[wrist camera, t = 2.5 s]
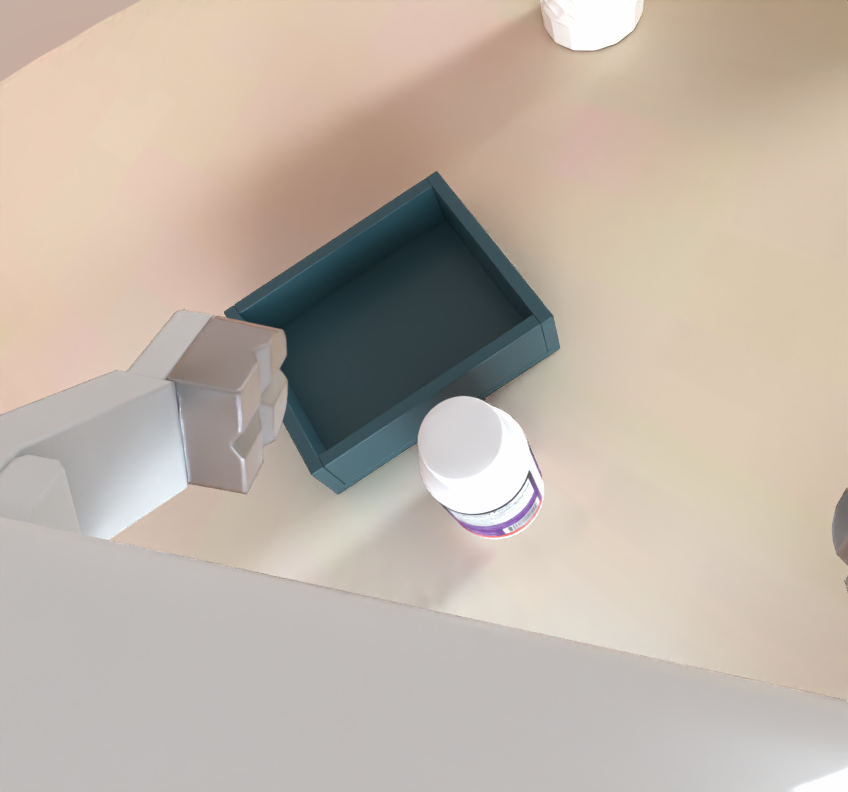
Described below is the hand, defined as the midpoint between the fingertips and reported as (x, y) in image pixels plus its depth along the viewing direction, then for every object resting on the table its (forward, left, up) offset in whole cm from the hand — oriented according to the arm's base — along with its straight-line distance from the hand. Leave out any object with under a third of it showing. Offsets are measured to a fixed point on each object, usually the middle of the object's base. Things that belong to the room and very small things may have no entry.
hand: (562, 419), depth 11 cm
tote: (+1, -21, -32) cm, 38 cm away
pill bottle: (+1, -10, -32) cm, 33 cm away
